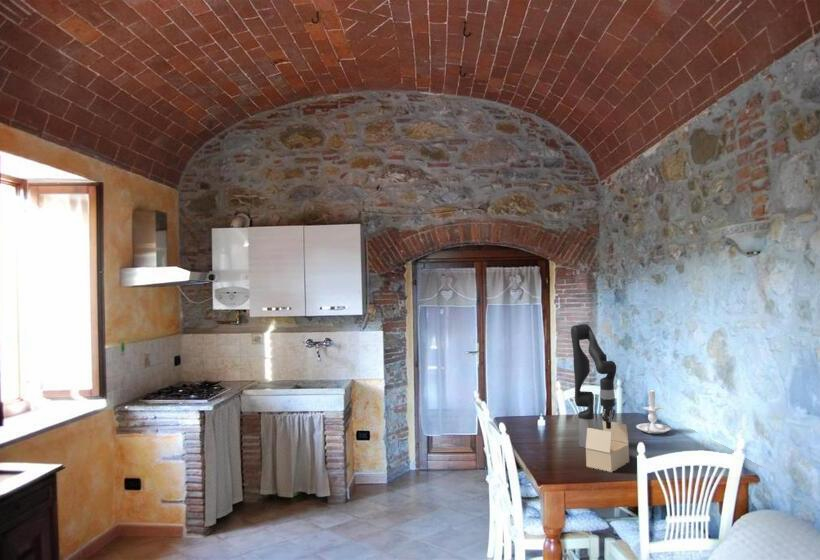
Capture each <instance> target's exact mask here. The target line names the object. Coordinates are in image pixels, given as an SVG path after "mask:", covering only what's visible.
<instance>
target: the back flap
mask: <svg viewBox="0 0 820 560" xmlns="http://www.w3.org/2000/svg"><path fill="white" fill-rule="evenodd" d="M602 430H604V431H609V432H612V437H611V440H614V441H617V442H621V443H627V444H629V443H630V442H629V436H628V426H627V424H625V423H620V422H614V421H613V422H612V421H611V428H610V429H607V428H606V422H605V421H603V420H602Z"/></svg>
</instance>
